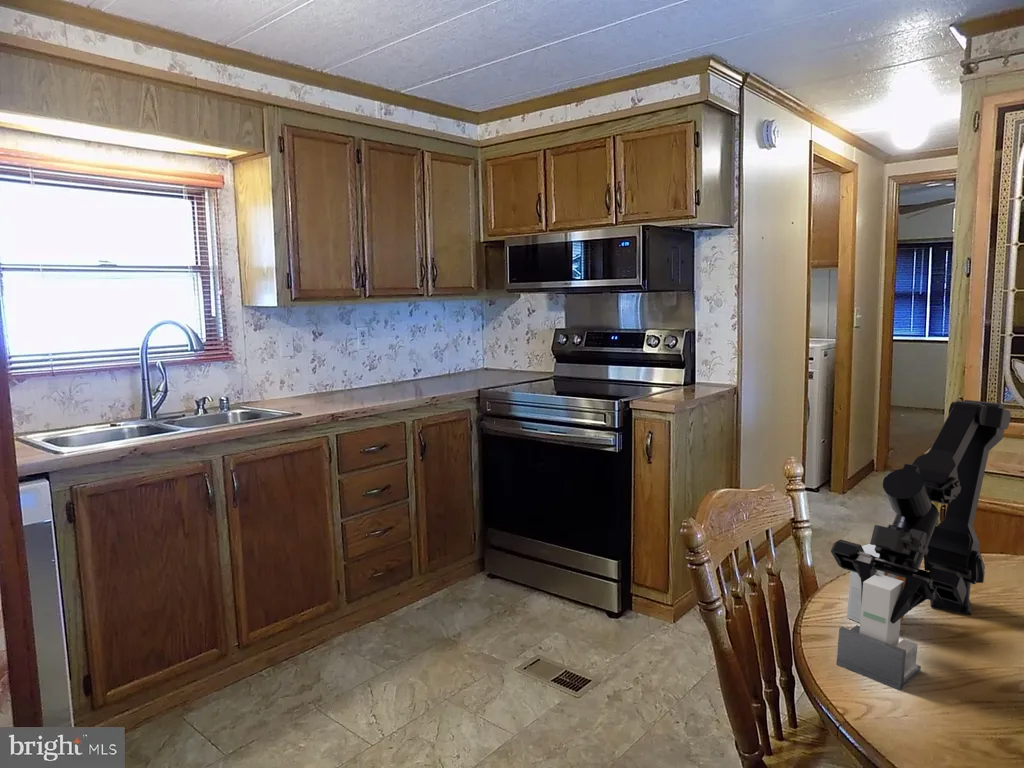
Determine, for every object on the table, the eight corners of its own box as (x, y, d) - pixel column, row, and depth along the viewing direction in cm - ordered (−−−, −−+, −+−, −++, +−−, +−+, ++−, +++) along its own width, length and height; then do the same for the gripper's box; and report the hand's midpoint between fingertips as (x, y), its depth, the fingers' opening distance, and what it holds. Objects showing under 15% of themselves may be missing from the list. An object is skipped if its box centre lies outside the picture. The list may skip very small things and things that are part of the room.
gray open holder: (858, 647, 117) (861, 613, 117) (920, 671, 110) (923, 635, 109) (836, 664, 112) (838, 629, 111) (899, 690, 105) (903, 652, 104)
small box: (880, 632, 123) (886, 560, 121) (845, 617, 128) (850, 549, 126) (904, 620, 127) (910, 551, 125) (870, 606, 132) (875, 540, 130)
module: (871, 643, 114) (877, 573, 113) (897, 653, 111) (903, 581, 110) (857, 654, 111) (863, 582, 109) (884, 664, 108) (890, 590, 106)
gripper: (839, 492, 117) (803, 573, 112) (967, 521, 103) (932, 615, 98) (857, 527, 124) (823, 605, 118) (979, 558, 110) (948, 649, 104)
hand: (877, 617), depth 109 cm, fingers closed on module, 4 cm apart
